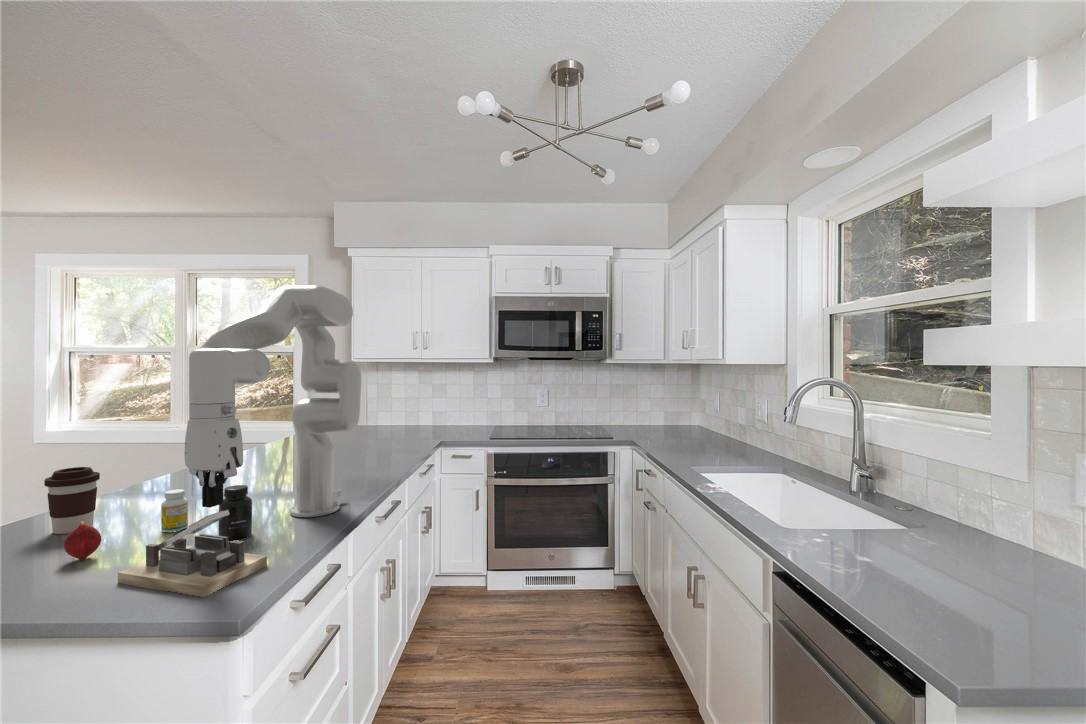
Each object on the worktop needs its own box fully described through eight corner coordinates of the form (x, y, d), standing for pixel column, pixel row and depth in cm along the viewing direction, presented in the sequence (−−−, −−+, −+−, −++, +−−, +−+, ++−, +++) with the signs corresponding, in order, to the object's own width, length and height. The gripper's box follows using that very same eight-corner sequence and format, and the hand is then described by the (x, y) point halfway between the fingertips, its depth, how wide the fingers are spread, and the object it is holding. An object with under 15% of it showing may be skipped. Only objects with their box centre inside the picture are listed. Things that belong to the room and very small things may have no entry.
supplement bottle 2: (236, 543, 113) (236, 491, 113) (211, 541, 115) (211, 490, 115) (259, 533, 120) (258, 484, 120) (235, 531, 122) (235, 482, 121)
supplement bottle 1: (184, 531, 121) (184, 492, 121) (158, 534, 119) (157, 495, 119) (190, 524, 126) (190, 487, 126) (165, 527, 124) (165, 489, 124)
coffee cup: (42, 540, 115) (42, 476, 115) (46, 529, 123) (46, 469, 122) (99, 530, 122) (99, 470, 121) (100, 520, 129) (100, 463, 129)
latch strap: (175, 545, 102) (172, 538, 102) (229, 514, 98) (227, 508, 98) (155, 552, 98) (153, 546, 98) (211, 521, 94) (208, 514, 94)
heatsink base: (188, 554, 107) (188, 526, 107) (266, 565, 102) (266, 535, 102) (117, 582, 94) (117, 550, 94) (203, 597, 88) (203, 563, 88)
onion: (107, 556, 106) (107, 519, 106) (75, 566, 101) (74, 527, 101) (90, 552, 108) (90, 516, 108) (57, 562, 103) (57, 524, 103)
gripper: (259, 411, 98) (259, 503, 98) (200, 408, 102) (201, 497, 102) (225, 415, 91) (226, 514, 91) (164, 412, 94) (164, 507, 95)
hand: (212, 505), depth 96 cm, fingers closed
